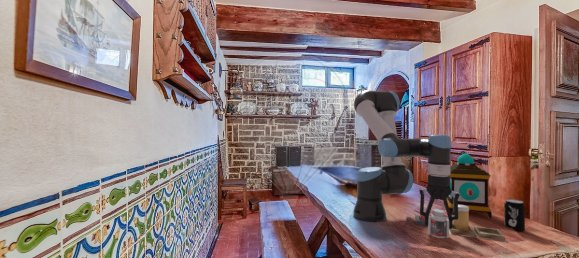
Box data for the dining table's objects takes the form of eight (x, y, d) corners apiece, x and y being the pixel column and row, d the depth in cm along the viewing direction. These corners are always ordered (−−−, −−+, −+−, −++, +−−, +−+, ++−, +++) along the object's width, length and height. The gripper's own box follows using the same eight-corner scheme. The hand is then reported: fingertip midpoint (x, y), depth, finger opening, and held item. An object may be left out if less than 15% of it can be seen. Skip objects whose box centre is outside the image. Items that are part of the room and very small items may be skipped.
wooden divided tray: (449, 237, 103) (449, 230, 103) (446, 228, 112) (446, 222, 113) (507, 245, 96) (507, 237, 96) (499, 235, 105) (499, 228, 105)
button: (420, 224, 115) (420, 215, 115) (420, 221, 118) (420, 212, 118) (430, 226, 113) (430, 216, 113) (430, 223, 117) (430, 214, 117)
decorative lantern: (446, 215, 130) (446, 154, 131) (440, 205, 149) (440, 151, 149) (496, 220, 123) (496, 155, 123) (483, 209, 141) (483, 152, 142)
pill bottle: (428, 236, 102) (429, 210, 102) (431, 232, 106) (432, 207, 106) (444, 240, 98) (445, 213, 98) (447, 235, 102) (447, 210, 102)
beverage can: (528, 232, 108) (528, 203, 108) (510, 231, 109) (510, 202, 109) (518, 227, 114) (518, 199, 115) (501, 226, 116) (500, 198, 116)
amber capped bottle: (454, 232, 105) (454, 207, 105) (452, 228, 110) (452, 203, 110) (470, 234, 103) (470, 208, 103) (467, 230, 107) (467, 205, 108)
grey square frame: (415, 227, 114) (415, 220, 114) (415, 221, 121) (415, 215, 121) (436, 230, 110) (436, 223, 111) (435, 224, 118) (435, 217, 118)
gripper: (412, 174, 102) (411, 234, 102) (469, 178, 94) (468, 243, 95) (412, 171, 109) (411, 227, 109) (465, 175, 101) (464, 235, 102)
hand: (438, 235), depth 102 cm, fingers closed on pill bottle, 5 cm apart
